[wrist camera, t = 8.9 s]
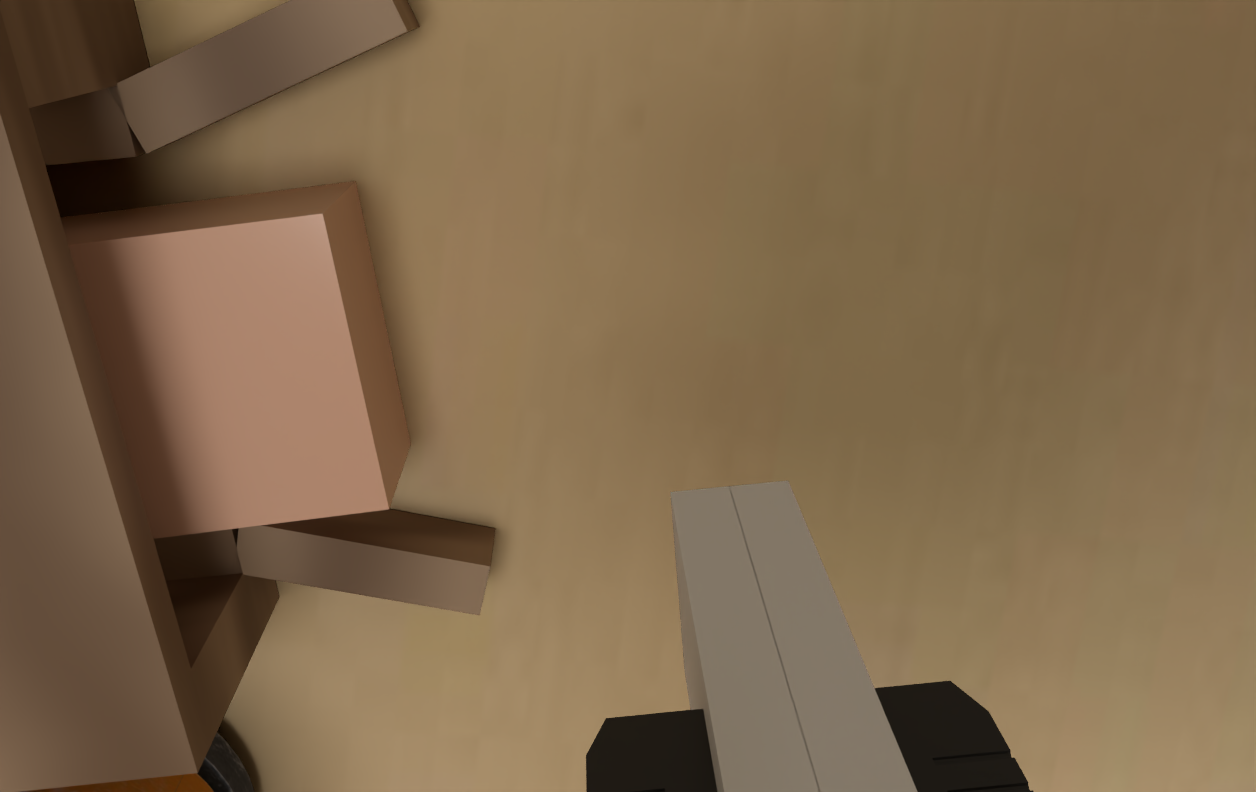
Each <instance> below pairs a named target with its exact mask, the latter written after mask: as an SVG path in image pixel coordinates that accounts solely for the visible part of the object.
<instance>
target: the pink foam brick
mask: <svg viewBox="0 0 1256 792" xmlns="http://www.w3.org/2000/svg"><path fill="white" fill-rule="evenodd" d="M61 221H62V225H63V228H64V232H65V235H66V239H67V242H68V246H69V249H70V253H71V256H72V259H73V263H74V266H75V270H76V273H77V277H78V280H79V284H80V287H81V291H82V294H83V298H84V301H85V304H86V308H87V311H88V315H89V318H90V322H91V325H92V329H93V332H94V336H95V339H96V342H97V346H98V349H99V353H100V356H101V360H102V363H103V367H104V370H105V374H106V377H107V380H108V384H109V387H110V391H111V394H112V398H113V401H114V405H115V408H116V412H117V415H118V418H119V422H120V425H121V429H122V432H123V436H124V439H125V443H126V446H127V450H128V453H129V456H130V460H131V463H132V467H133V470H134V474H135V477H136V481H137V484H138V488H139V491H140V494H141V498H142V501H143V505H144V508H145V512H146V515H147V519H148V522H149V526H150V529H151V532H152V536H153V539H156V538H164V537H172V536H180V535H188V534H196V533H204V532H212V531H220V530H228V529H236V528H244V527H252V526H260V525H268V524H276V523H284V522H292V521H300V520H308V519H316V518H324V517H332V516H340V515H348V514H356V513H364V512H372V511H380V510H388V509H389V508H390V505H391V502H392V499H393V496H394V493H395V490H396V487H397V484H398V481H399V478H400V475H401V472H402V470H403V467H404V464H405V461H406V458H407V455H408V452H409V449H410V446H411V442H410V437H409V433H408V428H407V423H406V418H405V413H404V409H403V404H402V399H401V394H400V390H399V385H398V380H397V375H396V371H395V366H394V361H393V356H392V352H391V347H390V342H389V337H388V333H387V328H386V323H385V318H384V314H383V309H382V304H381V299H380V294H379V290H378V285H377V280H376V275H375V271H374V266H373V261H372V256H371V252H370V247H369V242H368V237H367V233H366V228H365V223H364V218H363V214H362V209H361V204H360V199H359V195H358V190H357V185H356V181H352V182H344V183H336V184H328V185H319V186H311V187H303V188H295V189H287V190H279V191H271V192H263V193H255V194H247V195H239V196H231V197H223V198H215V199H207V200H198V201H190V202H182V203H174V204H166V205H158V206H150V207H142V208H134V209H126V210H118V211H110V212H102V213H94V214H86V215H77V216H69V217H61Z"/></svg>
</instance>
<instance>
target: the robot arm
mask: <svg viewBox="0 0 1256 792" xmlns="http://www.w3.org/2000/svg"><path fill="white" fill-rule="evenodd" d="M670 494H671V506H672V519H673V531H674V544H675V556H676V569H677V581H678V594H679V607H680V619H681V632H682V644H683V657H684V669H685V676H686V683H687V689H688V696H689V702H690V709H691V710H685V711H675V712H665V713H655V714H645V715H635V716H625V717H615V718H606V720H605V721H604V723H603V725H602V727H601V729H600V731H599V733H598V734H597V736H596V738H595V740H594V742H593V744H592V745H591V747H590V749H589V751H588V753H587V755H586V778H587V792H1033V791H1030V790H1029V786H1028V781H1027V779H1026V778H1025V776H1024V774H1023V772H1022V770H1021V769H1020V767H1019V765H1018V763H1017V762H1016V760H1015V758H1012V757H1011V754H1010V749H1009V747H1008V745H1007V744H1006V742H1005V740H1004V738H1003V736H1002V735H1001V733H1000V731H999V729H998V727H997V726H996V724H995V722H994V720H993V718H992V717H991V715H990V713H989V711H987V710H986V709H985V708H984V707H982V706H981V705H980V704H979V703H977V702H976V701H975V700H974V699H972V698H971V697H970V696H969V695H967V694H966V693H965V692H964V691H962V690H961V689H960V688H959V687H957V686H956V685H955V684H954V683H952V682H951V681H943V682H933V683H923V684H913V685H903V686H893V687H883V688H874V686H873V684H872V681H871V679H870V676H869V674H868V672H867V669H866V667H865V664H864V662H863V660H862V657H861V655H860V652H859V650H858V648H857V645H856V643H855V640H854V638H853V635H852V633H851V631H850V628H849V626H848V623H847V621H846V619H845V616H844V614H843V611H842V609H841V607H840V604H839V602H838V599H837V597H836V595H835V592H834V590H833V587H832V585H831V583H830V580H829V578H828V575H827V573H826V571H825V568H824V566H823V563H822V561H821V558H820V556H819V554H818V551H817V549H816V546H815V544H814V542H813V539H812V537H811V534H810V532H809V530H808V527H807V525H806V522H805V520H804V518H803V515H802V513H801V510H800V508H799V506H798V503H797V501H796V498H795V496H794V494H793V491H792V489H791V486H790V484H789V482H788V481H778V482H768V483H758V484H748V485H737V486H727V487H717V488H707V489H696V490H686V491H676V492H670Z"/></svg>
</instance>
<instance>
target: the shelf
mask: <svg viewBox="0 0 1256 792" xmlns="http://www.w3.org/2000/svg"><path fill="white" fill-rule="evenodd" d="M418 27H420V26H419V24H418V22H417V20H416V18H415V16H414V14H413V12H412V9H411V7H410V5H409V3H408V1H407V0H290V1H288V2H286V3H284V4H282V5H280V6H277V7H275V8H273V9H271V10H269V11H267V12H265V13H263V14H261V15H259V16H257V17H254V18H252V19H250V20H248V21H246V22H244V23H242V24H240V25H238V26H236V27H234V28H232V29H229V30H227V31H225V32H223V33H221V34H219V35H217V36H215V37H213V38H211V39H209V40H206V41H204V42H202V43H200V44H198V45H196V46H194V47H192V48H190V49H188V50H186V51H183V52H181V53H179V54H177V55H175V56H173V57H171V58H169V59H167V60H165V61H163V62H161V63H158V64H156V65H154V66H152V67H150V66H149V62H148V58H147V54H146V50H145V46H144V42H143V38H142V33H141V29H140V25H139V21H138V17H137V13H136V9H135V5H134V1H133V0H0V792H20V791H30V790H39V789H49V788H59V787H68V786H78V785H87V784H97V783H107V782H116V781H126V780H136V779H145V778H155V777H165V776H174V775H184V774H194V773H198V772H199V769H200V767H201V765H202V763H203V761H204V759H205V757H206V754H207V752H208V750H209V748H210V746H211V744H212V741H213V739H214V737H215V735H216V733H217V731H218V728H219V726H220V724H221V722H222V720H223V718H224V715H225V713H226V711H227V709H228V707H229V705H230V703H231V700H232V698H233V696H234V694H235V692H236V690H237V687H238V685H239V683H240V681H241V679H242V677H243V674H244V672H245V670H246V668H247V666H248V664H249V661H250V659H251V657H252V655H253V653H254V651H255V649H256V646H257V644H258V642H259V640H260V638H261V636H262V633H263V631H264V629H265V627H266V625H267V623H268V620H269V618H270V616H271V614H272V612H273V610H274V607H275V605H276V603H277V601H278V599H279V594H278V590H277V586H276V582H275V580H278V581H284V582H290V583H295V584H301V585H307V586H313V587H319V588H324V589H330V590H336V591H342V592H348V593H353V594H359V595H365V596H371V597H377V598H382V599H388V600H394V601H400V602H405V603H411V604H417V605H423V606H429V607H434V608H440V609H446V610H452V611H458V612H463V613H469V614H475V615H480V612H481V607H482V603H483V598H484V594H485V589H486V585H487V580H488V575H489V571H490V566H491V559H492V551H493V544H494V536H495V528H489V527H484V526H478V525H473V524H468V523H462V522H457V521H451V520H446V519H440V518H435V517H429V516H424V515H419V514H413V513H408V512H402V511H397V510H391V509H388V510H380V511H372V512H364V513H356V514H348V515H340V516H332V517H324V518H316V519H308V520H300V521H292V522H284V523H276V524H268V525H260V526H252V527H244V528H236V529H228V530H220V531H212V532H204V533H196V534H188V535H180V536H172V537H164V538H156V539H153V536H152V532H151V529H150V526H149V522H148V519H147V515H146V512H145V508H144V505H143V501H142V498H141V494H140V491H139V488H138V484H137V481H136V477H135V474H134V470H133V467H132V463H131V460H130V456H129V453H128V450H127V446H126V443H125V439H124V436H123V432H122V429H121V425H120V422H119V418H118V415H117V412H116V408H115V405H114V401H113V398H112V394H111V391H110V387H109V384H108V380H107V377H106V374H105V370H104V367H103V363H102V360H101V356H100V353H99V349H98V346H97V342H96V339H95V336H94V332H93V329H92V325H91V322H90V318H89V315H88V311H87V308H86V304H85V301H84V298H83V294H82V291H81V287H80V284H79V280H78V277H77V273H76V270H75V266H74V263H73V259H72V256H71V253H70V249H69V246H68V242H67V239H66V235H65V232H64V228H63V225H62V221H61V218H60V215H59V211H58V208H57V204H56V201H55V197H54V194H53V190H52V187H51V183H50V180H49V177H48V173H47V170H46V166H45V165H54V164H64V163H75V162H85V161H96V160H106V159H117V158H127V157H136V156H139V155H141V154H143V153H146V154H147V153H149V152H152V151H154V150H156V149H159V148H161V147H163V146H166V145H168V144H170V143H172V142H175V141H177V140H179V139H181V138H183V137H186V136H188V135H190V134H192V133H194V132H196V131H198V130H201V129H203V128H205V127H207V126H209V125H211V124H213V123H215V122H218V121H220V120H222V119H224V118H226V117H228V116H230V115H232V114H235V113H237V112H239V111H241V110H243V109H245V108H247V107H250V106H252V105H254V104H256V103H258V102H260V101H262V100H264V99H267V98H269V97H271V96H273V95H275V94H277V93H279V92H281V91H284V90H286V89H288V88H290V87H292V86H294V85H296V84H299V83H301V82H303V81H305V80H307V79H309V78H311V77H313V76H316V75H318V74H320V73H322V72H324V71H326V70H328V69H331V68H333V67H335V66H337V65H339V64H341V63H343V62H345V61H348V60H350V59H352V58H354V57H356V56H358V55H360V54H362V53H365V52H367V51H369V50H371V49H373V48H375V47H377V46H380V45H382V44H384V43H386V42H388V41H390V40H392V39H394V38H397V37H399V36H401V35H403V34H405V33H407V32H409V31H411V30H414V29H416V28H418Z"/></svg>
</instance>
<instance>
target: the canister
mask: <svg viewBox="0 0 1256 792" xmlns="http://www.w3.org/2000/svg"><path fill="white" fill-rule="evenodd" d="M20 792H254V789H253V786H252V783H251V780H250V777H249V775H248V773H247V771H246V769H245V768H244V766H243V764H242V762H241V760H240V759H239V757H238V756H237V754H236V753H235V752H234V751H233V749H232V748H231V747H230V746H229V744H228V743H227V742H226V740H225V739H223V738H222V737H221V736H220V735H219V734H218V733H216V735H215V737H214V739H213V741H212V744H211V746H210V748H209V750H208V752H207V754H206V757H205V759H204V761H203V763H202V765H201V767H200V769H199V772H198V773H194V774H184V775H174V776H165V777H155V778H145V779H136V780H126V781H116V782H107V783H97V784H87V785H78V786H68V787H59V788H49V789H39V790H30V791H20Z"/></svg>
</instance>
